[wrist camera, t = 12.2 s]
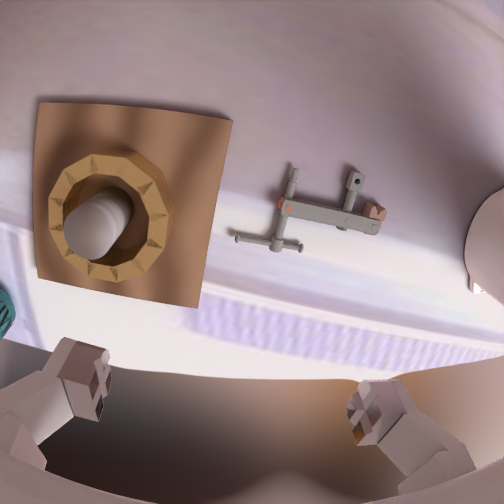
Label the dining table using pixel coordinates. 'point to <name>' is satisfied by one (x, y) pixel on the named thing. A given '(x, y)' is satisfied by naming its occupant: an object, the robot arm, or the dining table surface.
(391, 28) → the dining table surface
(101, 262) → the wooden ring
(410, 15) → the dining table surface
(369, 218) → the clamp
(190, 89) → the dining table surface
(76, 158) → the piston stand
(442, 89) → the dining table surface
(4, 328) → the beverage bottle
